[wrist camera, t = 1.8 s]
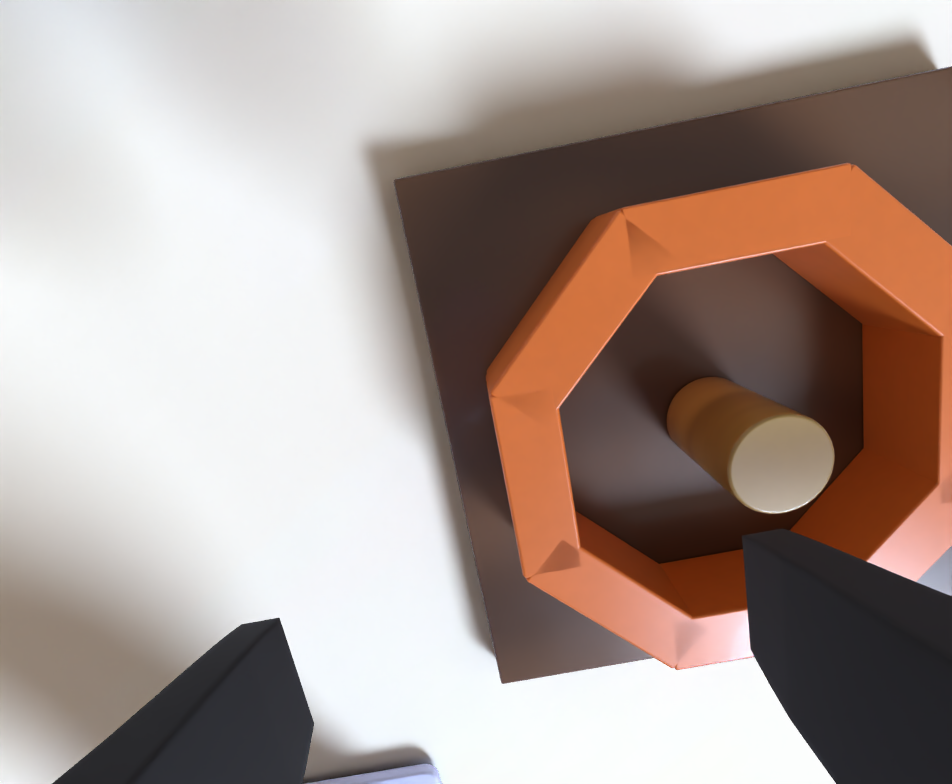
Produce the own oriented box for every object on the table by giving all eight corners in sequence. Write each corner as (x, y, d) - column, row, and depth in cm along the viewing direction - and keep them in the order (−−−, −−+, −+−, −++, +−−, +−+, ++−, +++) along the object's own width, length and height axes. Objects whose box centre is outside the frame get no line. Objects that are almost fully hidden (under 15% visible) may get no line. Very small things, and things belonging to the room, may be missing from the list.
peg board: (931, 588, 18) (1092, 702, 13) (499, 662, 18) (510, 798, 14) (943, 74, 14) (1176, -17, 10) (397, 184, 15) (365, 149, 10)
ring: (915, 562, 17) (995, 617, 14) (533, 629, 17) (545, 693, 14) (921, 151, 14) (1023, 127, 11) (459, 243, 14) (458, 239, 12)
